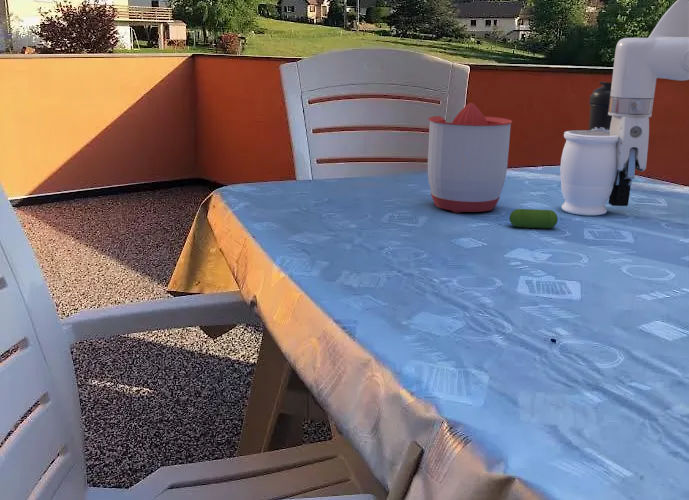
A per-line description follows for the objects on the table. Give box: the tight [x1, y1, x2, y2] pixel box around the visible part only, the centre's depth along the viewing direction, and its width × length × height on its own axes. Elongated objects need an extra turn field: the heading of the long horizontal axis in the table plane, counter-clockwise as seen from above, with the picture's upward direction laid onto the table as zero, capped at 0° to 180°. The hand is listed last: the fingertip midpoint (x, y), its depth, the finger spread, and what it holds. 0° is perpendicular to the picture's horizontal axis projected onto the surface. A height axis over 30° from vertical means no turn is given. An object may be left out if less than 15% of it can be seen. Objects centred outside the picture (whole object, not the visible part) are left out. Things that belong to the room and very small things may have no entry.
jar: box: [559, 129, 619, 216], centre depth 134 cm, size 11×10×15 cm
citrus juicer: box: [427, 102, 513, 214], centre depth 136 cm, size 16×17×20 cm
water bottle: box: [587, 81, 612, 132], centre depth 162 cm, size 10×10×23 cm
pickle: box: [509, 208, 559, 229], centre depth 123 cm, size 8×3×3 cm, turn 85°
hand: (618, 204), depth 135 cm, fingers closed
